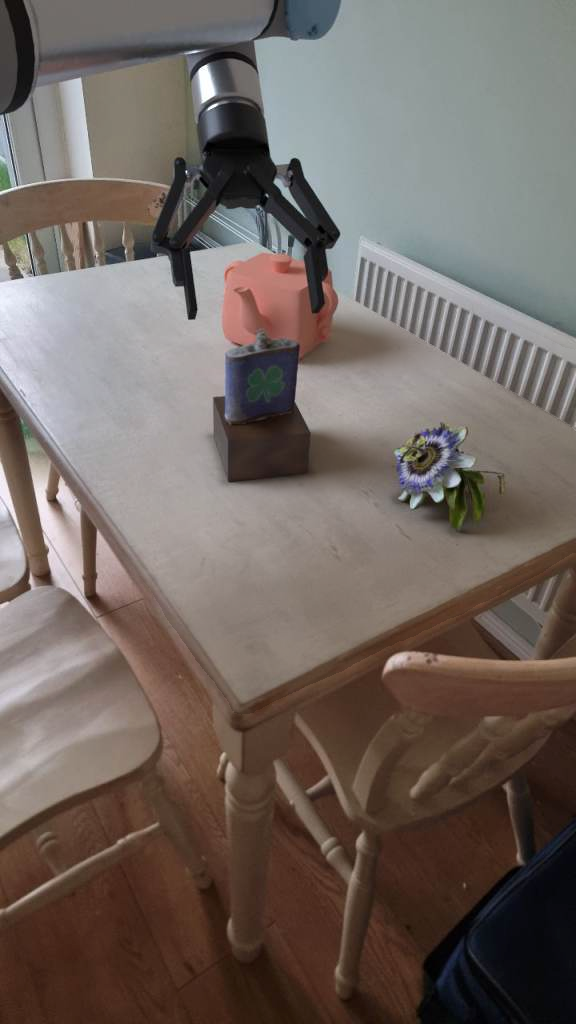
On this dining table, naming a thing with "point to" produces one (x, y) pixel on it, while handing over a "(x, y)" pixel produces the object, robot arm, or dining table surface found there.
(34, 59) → the robot arm
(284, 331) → the teapot
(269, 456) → the walnut block
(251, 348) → the flask
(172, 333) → the dining table surface
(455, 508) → the passion flower
